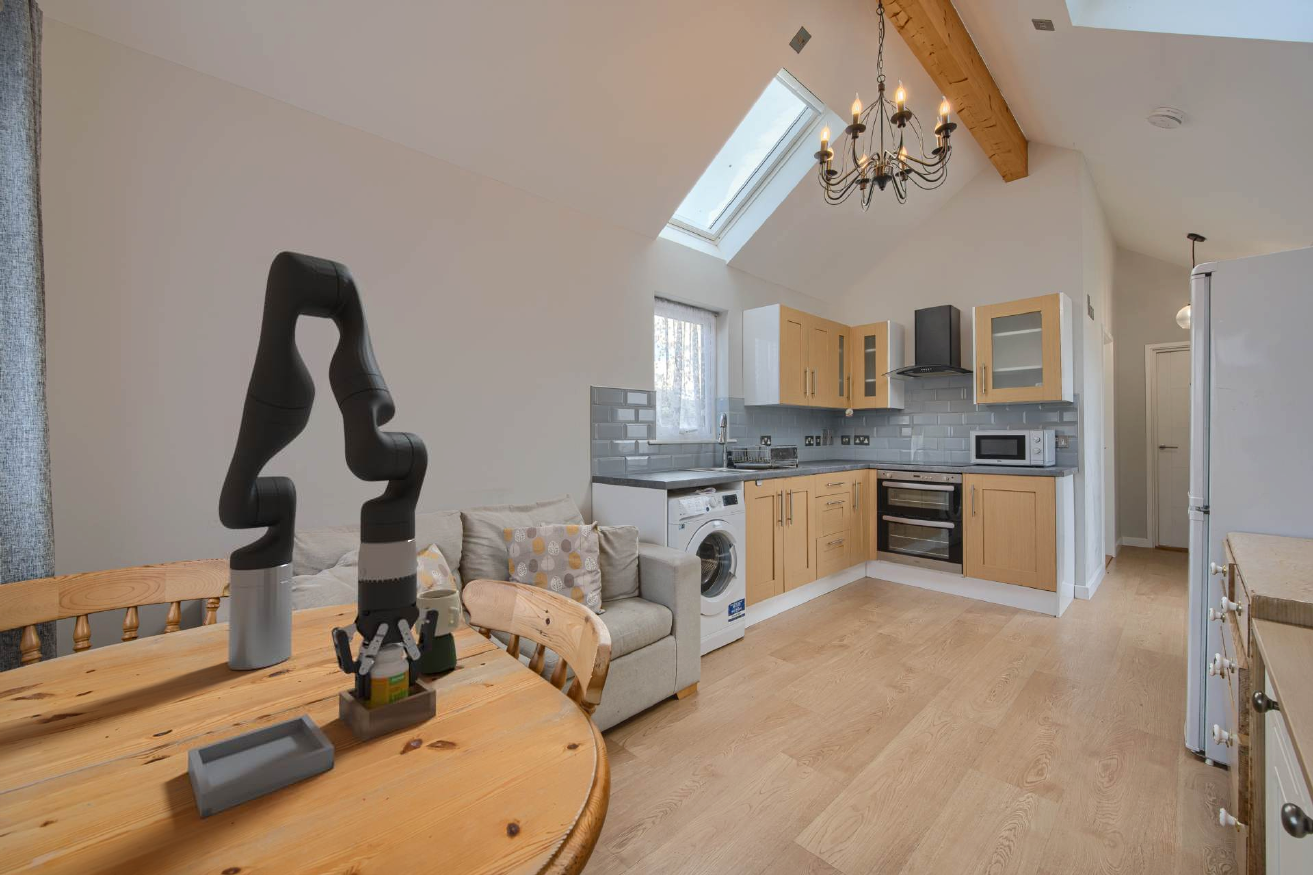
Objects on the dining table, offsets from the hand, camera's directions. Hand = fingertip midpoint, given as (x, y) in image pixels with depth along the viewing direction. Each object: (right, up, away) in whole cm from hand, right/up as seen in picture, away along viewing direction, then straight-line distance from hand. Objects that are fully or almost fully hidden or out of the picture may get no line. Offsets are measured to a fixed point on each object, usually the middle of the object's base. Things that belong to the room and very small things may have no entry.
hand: (387, 691), depth 76 cm
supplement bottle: (0, -4, 0) cm, 4 cm away
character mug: (0, -4, +16) cm, 17 cm away
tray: (-9, -3, -13) cm, 16 cm away
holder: (0, -3, 0) cm, 3 cm away
